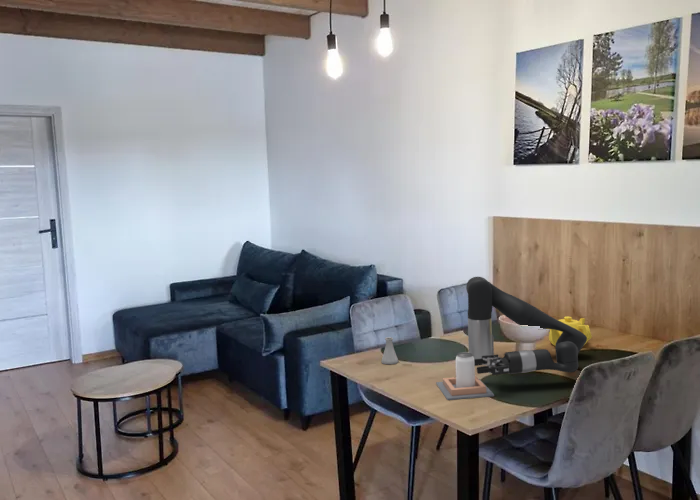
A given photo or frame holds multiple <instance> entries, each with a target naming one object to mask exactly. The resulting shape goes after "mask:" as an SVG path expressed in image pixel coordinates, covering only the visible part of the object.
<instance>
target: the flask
mask: <svg viewBox="0 0 700 500" xmlns="http://www.w3.org/2000/svg"><path fill="white" fill-rule="evenodd" d="M393 340H394V338H393V336H392V337H391V336H388V337H387V336H386V337H385V348H384V351H383V355H382V358H381V360H380V361H381V363H382V364H383V365H396V364H398V363H399V362H400V361H399V359H398V356H397V354H396V351H395V348H394V344H393Z"/></svg>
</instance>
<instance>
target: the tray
mask: <svg viewBox="0 0 700 500" xmlns="http://www.w3.org/2000/svg"><path fill="white" fill-rule="evenodd" d="M435 385H436V386H437V387H438V389H439V390H440V391H441V393H442V394H443V396H444V397H445V398H446V400H447V401H453V400H464V399H466V400H467V399H476V398H477V399H479V398H489V397H490V398H491V397H495V394H494V393H493V391H492V390H490V388H489V387H487V385H486V384H485V383H484V382H483V381H482V380H481V378H479V377H477V375H475V387H463V388H457V387H456V376H455V377H443V378H442V381H436V382H435Z"/></svg>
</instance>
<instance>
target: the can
mask: <svg viewBox="0 0 700 500" xmlns="http://www.w3.org/2000/svg"><path fill="white" fill-rule="evenodd" d="M475 367H476V366H475V362H474V357H473V354H472V353H469V351H461V352H458V353H456V357H455V377H456V387H457V388H463V387H475V376H476V372H475V371H476V368H475Z"/></svg>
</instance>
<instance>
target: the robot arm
mask: <svg viewBox="0 0 700 500" xmlns="http://www.w3.org/2000/svg"><path fill="white" fill-rule="evenodd" d="M465 287H466V292H467V304H468V305H467V307H468V309H467V335H468V337H467V338H468V339H467V340H468V342H467V343H468V344H467V345H468V353H472V354H473V357H474V362H475V367H476V373H477V374H491V375H492V376H496V375H497V376H498V375H503V374H504V375H505V374H508V375H512V374H514V375H515V374H522V373H529V372H534V371H536V372H537V371H545V370H546V371H547V370H549V371H556V372H557V371H558V372H563V373H574V372H576V371H577V370H578V368H579V358H578V356H579V353H580V352H581V350H582V349H583V347H584V346H585V345H586V344H587V343H586V341H587V337H586V336H585V335H584V334H583V333H582V332H580V331H579V330H577V329H575V328H573V327H571V326H569V325H567V324H565V323H563V322H561V321H558V320H559V319H556V318H554V316H553V317H552V316H551V315H549V314H548V313H545V312H544V311H542V310H540V309H539V308H537V307H536V306H534V305H532V304H530V303H528V302H526V301H525V300H524V299H521V298H519V297H516V296H515V295H512V294H510V293H507V292H506V291H503V290H501V289H500V288H499V287H497V286H496V285H494V284H493V283H492V282H490V281H489V280H487V279H486V278H484V277H483V276H473V277H470V278H469V279H468V281H467V283H466V286H465ZM493 308H494V309H496V310H498V311H499V312H500V313H501V314H503V315H504V316H505V317H506V318H508V319H509V320H510V321H512V322H514V323H516V324H517V325H518V326H520V325H528V326H540V328H543V329H542V330H546V329H554V330H558V331H562V334H561V335H560V337H559V339H558V340H557V342H556V345H555V346H554V347H555V358H556V359H555V360H556V362H554V360H553V357H552V355H551V353H550V351H549V350H548V349H546V348H545V349H544V348H543V349H534V350H533V349H531V350H527V349H525V350H524V349H523V350H515V351H514V350H513V351H506V352H505V353H504V354H503V355H504V356H503V357H500V356H499V354H495V351H494V349H495V347H494V346H495V345H494V343H495V341H494V340H495V339H494V335H493V333H492V328H493V327H492V326H493V325H492V324H493V323H492V315H493V314H492V313H493ZM587 342H588V341H587ZM585 343H586V344H585ZM584 344H585V345H584Z"/></svg>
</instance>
